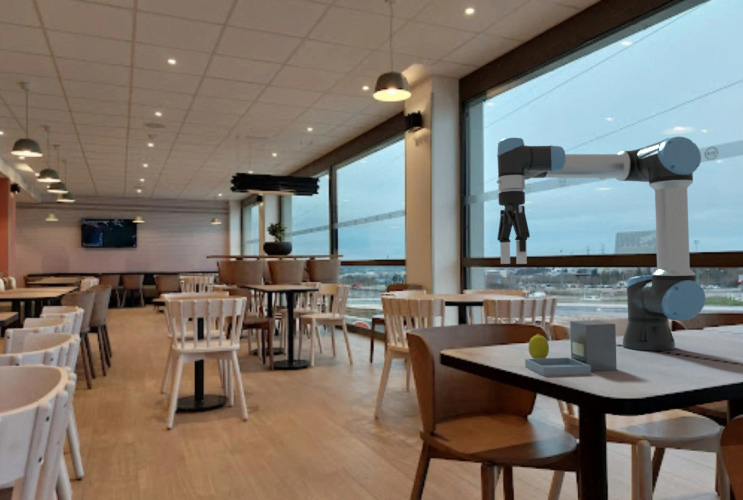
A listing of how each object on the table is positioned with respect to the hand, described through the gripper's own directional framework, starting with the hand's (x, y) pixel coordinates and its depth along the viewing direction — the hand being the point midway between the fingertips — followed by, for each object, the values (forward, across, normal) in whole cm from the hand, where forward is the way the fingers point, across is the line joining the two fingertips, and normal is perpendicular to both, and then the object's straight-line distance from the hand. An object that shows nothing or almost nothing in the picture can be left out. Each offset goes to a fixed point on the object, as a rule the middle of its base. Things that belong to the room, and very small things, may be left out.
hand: (513, 263), depth 161 cm
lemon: (+28, +5, +5) cm, 29 cm away
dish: (+28, +17, +5) cm, 33 cm away
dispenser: (+28, +15, +16) cm, 36 cm away
